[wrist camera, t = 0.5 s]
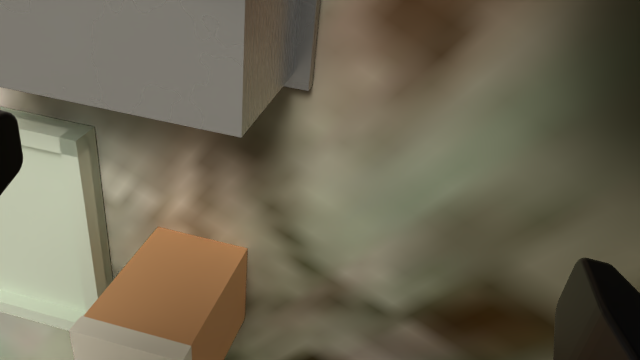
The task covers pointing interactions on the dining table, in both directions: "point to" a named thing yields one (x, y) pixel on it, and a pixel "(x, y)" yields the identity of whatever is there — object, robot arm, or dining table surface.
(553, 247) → the dining table surface
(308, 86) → the box
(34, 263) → the tray
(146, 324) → the square block
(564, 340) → the robot arm
